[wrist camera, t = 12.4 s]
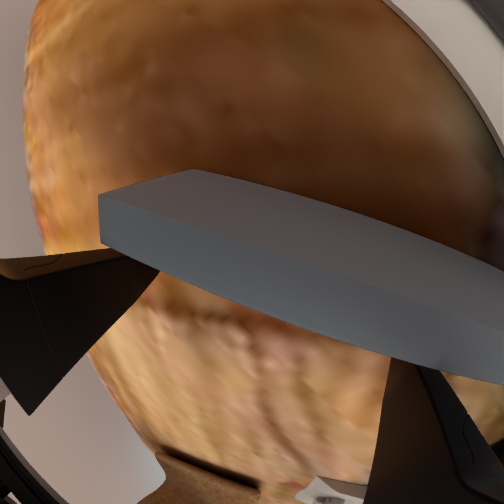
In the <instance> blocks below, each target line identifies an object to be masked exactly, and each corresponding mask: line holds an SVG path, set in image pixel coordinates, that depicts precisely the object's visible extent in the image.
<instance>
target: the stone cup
mask: <svg viewBox="0 0 504 504" xmlns="http://www.w3.org/2000/svg"><path fill="white" fill-rule="evenodd" d="M155 457H156V459H157V461H158V462H159V464H160V465H161V467H162V468H163V469H164V471H165V474H166V480H165V481H164V483H163V484H162V485H161V486H160V487H159V488H158V489H157V490H156V491H154V492H153V493H151V494H149V495H148V496H146V497H145V498H143V499H142V500H141V501H139V502H138V503H137V504H257V503H258V501H259V498H260V495H261V491H260V490H257V489H254V488H251V487H249V486H246V485H243V484H240V483H238V482H235V481H232V480H229V479H226V478H224V477H221V476H219V475H216V474H213V473H211V472H208V471H206V470H203V469H201V468H198V467H196V466H193V465H191V464H188V463H186V462H183V461H181V460H178V459H176V458H173V457H171V456H168V455H166V454H163V453H161V452H156V453H155Z"/></svg>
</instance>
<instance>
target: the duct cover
mask: <svg viewBox="0 0 504 504" xmlns="http://www.w3.org/2000/svg"><path fill="white" fill-rule="evenodd" d="M98 202H99V225H100V239H101V243H102V244H104V245H106V246H108V247H110V248H112V249H114V250H117V251H119V252H121V253H123V254H125V255H127V256H129V257H131V258H133V259H136V260H138V261H140V262H142V263H144V264H146V265H149V266H151V267H153V268H155V269H158V270H160V271H162V272H164V273H166V274H169V275H171V276H173V277H176V278H178V279H180V280H182V281H185V282H187V283H189V284H192V285H194V286H197V287H199V288H201V289H204V290H206V291H208V292H211V293H213V294H216V295H218V296H221V297H223V298H226V299H228V300H231V301H233V302H236V303H238V304H241V305H243V306H246V307H248V308H251V309H253V310H256V311H259V312H261V313H264V314H266V315H269V316H272V317H274V318H277V319H280V320H282V321H285V322H288V323H291V324H293V325H296V326H299V327H302V328H305V329H307V330H310V331H313V332H316V333H319V334H322V335H325V336H327V337H330V338H333V339H336V340H339V341H342V342H345V343H348V344H352V345H355V346H358V347H361V348H364V349H367V350H370V351H374V352H377V353H380V354H383V355H387V356H390V357H393V358H397V359H400V360H404V361H407V362H411V363H414V364H418V365H421V366H425V367H429V368H432V369H436V370H440V371H444V372H448V373H452V374H456V375H460V376H464V377H468V378H472V379H477V380H481V381H485V382H490V383H495V384H499V385H504V271H502V270H500V269H498V268H495V267H493V266H491V265H489V264H487V263H485V262H482V261H480V260H478V259H476V258H473V257H471V256H469V255H467V254H464V253H462V252H460V251H457V250H455V249H453V248H450V247H448V246H445V245H443V244H440V243H438V242H435V241H433V240H430V239H428V238H425V237H423V236H420V235H418V234H415V233H412V232H410V231H407V230H404V229H402V228H399V227H396V226H393V225H391V224H388V223H385V222H382V221H379V220H376V219H373V218H371V217H368V216H365V215H362V214H359V213H356V212H353V211H350V210H346V209H343V208H340V207H337V206H334V205H331V204H327V203H324V202H321V201H318V200H314V199H311V198H308V197H304V196H301V195H297V194H294V193H290V192H287V191H283V190H279V189H276V188H272V187H268V186H264V185H261V184H257V183H253V182H249V181H245V180H241V179H237V178H233V177H228V176H224V175H220V174H216V173H211V172H207V171H202V170H198V169H190V170H186V171H182V172H178V173H173V174H169V175H165V176H162V177H158V178H154V179H150V180H146V181H143V182H139V183H136V184H132V185H129V186H125V187H122V188H119V189H115V190H112V191H109V192H106V193H103V194H99V195H98Z"/></svg>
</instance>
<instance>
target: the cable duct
mask: <svg viewBox="0 0 504 504" xmlns="http://www.w3.org/2000/svg"><path fill="white" fill-rule="evenodd" d="M382 1H383V2H384V3H385V4H387V5H388V6H389V7H390V8H391V9H392V10H393V11H395V12H396V13H397V14H398V15H399V16H400V17H401V18H402V19H403V20H404V21H405V22H406V23H407V24H408V25H409V26H410V27H411V28H412V29H413V30H414V31H415V32H416V33H417V34H418V35H419V36H420V37H421V38H422V39H423V40H424V41H425V42H426V43H427V44H428V45H429V46H430V48H431V49H432V50H433V51H434V52H435V53H436V54H437V56H438V57H439V58H440V59H441V60H442V62H443V63H444V64H445V65H446V67H447V68H448V69H449V70H450V72H451V73H452V74H453V76H454V77H455V78H456V80H457V81H458V82H459V84H460V85H461V86H462V88H463V89H464V91H465V92H466V94H467V95H468V97H469V98H470V100H471V101H472V103H473V104H474V106H475V107H476V109H477V110H478V112H479V114H480V115H481V117H482V119H483V120H484V122H485V124H486V125H487V127H488V129H489V131H490V133H491V134H492V136H493V138H494V140H495V142H496V144H497V146H498V148H499V150H500V152H501V154H502V156H503V158H504V0H382Z"/></svg>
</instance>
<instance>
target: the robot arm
mask: <svg viewBox="0 0 504 504" xmlns="http://www.w3.org/2000/svg"><path fill="white" fill-rule="evenodd" d="M159 272H160V270H158V269H155V268H153V267H151V266H149V265H146V264H144V263H142V262H140V261H138V260H136V259H133V258H131V257H129V256H127V255H125V254H123V253H121V252H119V251H117V250H114V249H112V248H107V249H98V250H89V251H81V252H72V253H65V254H56V255H47V256H36V257H23V258H9V259H0V504H17V503H16V502H15V501H14V500H12V499H11V498H10V497H8V496H7V495H8V494H9V493H10V492H12V493H13V494H14V496H15V497H16V498H17V499H18V500H19V502H21V504H69V503H67V502H66V501H65V500H64V499H63V498H62V497H61V496H60V495H59V494H58V493H57V492H56V491H55V490H54V489H53V488H52V487H51V486H50V485H49V484H48V483H47V482H46V481H45V480H44V479H43V478H42V477H41V476H40V475H39V474H38V473H37V472H36V470H35V469H34V468H33V467H32V466H31V465H30V464H29V463H28V461H27V460H26V459H25V458H24V457H23V456H22V454H21V453H20V452H19V450H18V449H17V448H16V447H15V445H14V444H13V443H12V442H11V440H10V439H9V437H8V436H7V435H6V433H5V432H4V430H3V429H2V428H3V422H4V412H5V402H6V401H5V399H4V398H5V397H7V396H8V395H9V394H10V393H11V394H12V395H13V396H14V398H15V399H16V400H17V402H18V403H19V404H20V406H21V407H22V408H23V410H24V411H25V412H26V413H27V414H28V416H30V415H31V414H32V413H33V412H34V411H35V410H36V409H37V407H38V406H39V405H40V404H41V403H42V402H43V400H44V399H45V398H46V397H47V396H48V395H49V393H50V392H51V391H52V390H53V389H54V388H55V386H56V385H57V384H58V383H59V382H60V381H61V380H62V379H63V377H64V376H65V375H66V374H67V373H68V372H69V371H70V370H71V369H72V367H73V366H74V365H75V364H76V363H77V362H78V361H79V360H80V358H82V357H83V356H84V354H85V353H86V352H87V351H88V350H89V349H90V348H91V347H92V346H93V345H94V344H95V343H96V342H97V341H98V340H99V339H100V338H101V337H102V335H103V334H104V333H105V332H106V331H107V330H108V329H109V328H110V327H111V326H112V325H113V324H114V323H115V322H116V321H117V320H118V319H119V318H120V317H121V316H122V315H123V314H124V313H125V312H126V311H127V310H128V309H129V308H130V307H131V306H132V305H133V304H134V303H135V302H136V301H137V299H138V298H139V297H140V296H141V295H142V293H143V292H144V291H145V290H146V288H147V287H148V286H149V285H150V284H151V282H152V281H153V280H154V279H155V278H156V276H157V275H158V274H159ZM363 504H504V441H503V442H501V443H499V444H497V445H495V446H493V447H491V448H490V446H489V445H488V443H487V442H486V440H485V439H484V437H483V436H482V434H481V433H480V431H479V430H478V428H477V426H476V425H475V423H474V422H473V420H472V418H471V417H470V415H469V414H467V411H466V409H465V407H464V406H463V404H462V403H461V401H460V400H459V398H458V397H457V395H456V394H455V392H454V391H453V389H452V388H451V386H450V385H449V383H448V382H447V380H446V379H445V378H444V376H443V375H442V373H441V372H440V370H436V369H432V368H429V367H425V366H421V365H418V364H414V363H411V362H407V361H404V360H400V359H397V358H393V357H392V358H391V362H390V367H389V372H388V378H387V383H386V387H385V392H384V397H383V402H382V409H381V417H380V424H379V431H378V437H377V443H376V449H375V454H374V459H373V464H372V469H371V473H370V477H369V482H368V486H367V490H366V493H365V497H364V501H363Z"/></svg>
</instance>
